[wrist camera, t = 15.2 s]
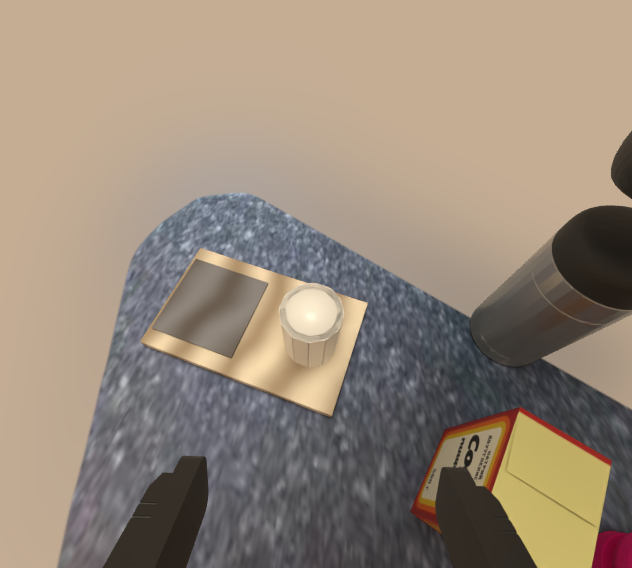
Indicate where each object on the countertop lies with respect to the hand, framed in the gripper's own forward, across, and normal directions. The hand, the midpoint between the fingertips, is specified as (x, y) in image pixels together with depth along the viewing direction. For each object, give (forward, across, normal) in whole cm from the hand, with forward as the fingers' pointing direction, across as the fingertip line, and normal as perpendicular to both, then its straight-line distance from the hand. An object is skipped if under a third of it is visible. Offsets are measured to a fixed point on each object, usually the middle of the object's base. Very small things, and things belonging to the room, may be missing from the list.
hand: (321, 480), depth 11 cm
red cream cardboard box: (+20, -16, +21) cm, 33 cm away
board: (+32, +8, +8) cm, 34 cm away
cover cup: (+29, +1, +9) cm, 31 cm away
